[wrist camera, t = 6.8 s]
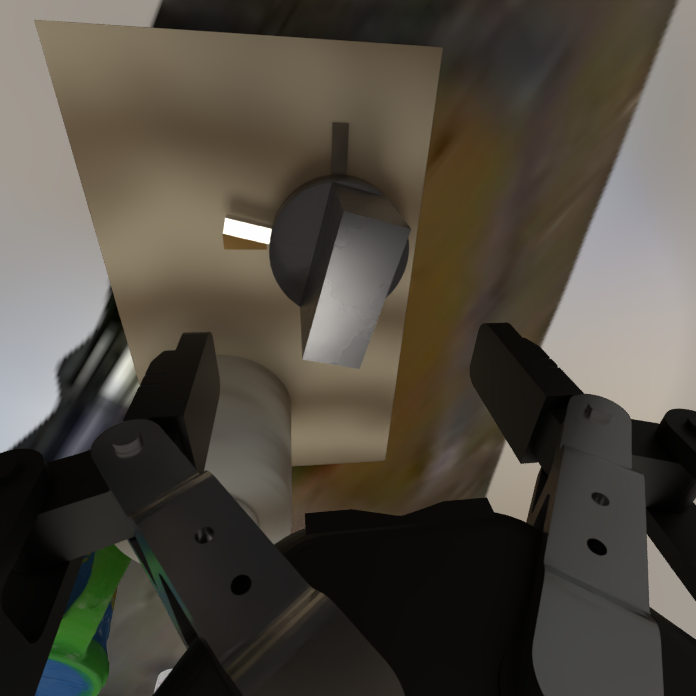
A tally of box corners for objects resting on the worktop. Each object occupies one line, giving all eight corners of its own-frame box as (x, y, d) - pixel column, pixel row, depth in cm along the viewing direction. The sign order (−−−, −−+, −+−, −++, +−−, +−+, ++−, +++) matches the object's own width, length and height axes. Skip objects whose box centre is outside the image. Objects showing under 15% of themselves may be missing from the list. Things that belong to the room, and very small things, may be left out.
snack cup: (89, 457, 29) (7, 615, 21) (197, 525, 34) (167, 671, 26) (-54, 546, 32) (-176, 713, 24) (65, 595, 38) (1, 745, 29)
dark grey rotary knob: (421, 195, 19) (465, 237, 14) (377, 313, 23) (402, 380, 18) (237, 142, 17) (217, 170, 12) (218, 280, 20) (196, 346, 16)
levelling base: (379, 440, 31) (417, 592, 22) (172, 451, 29) (119, 622, 20) (429, 49, 18) (571, 26, 9) (60, 25, 16) (-235, -36, 7)
